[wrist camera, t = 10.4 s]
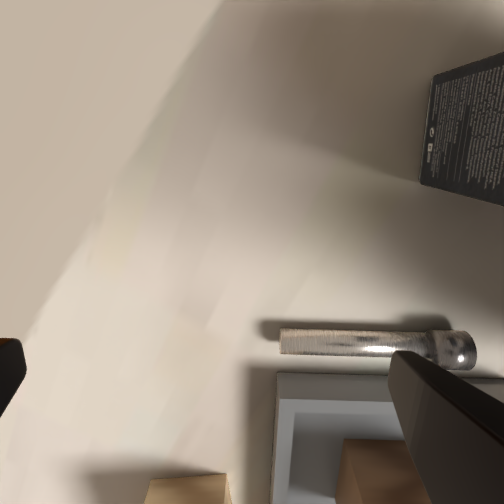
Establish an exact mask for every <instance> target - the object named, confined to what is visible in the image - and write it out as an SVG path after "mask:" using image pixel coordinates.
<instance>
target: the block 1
mask: <svg viewBox="0 0 504 504" xmlns="http://www.w3.org/2000/svg"><path fill="white" fill-rule="evenodd" d="M144 504H232V501H231V495H230V490H229V484H228V479H227V474H218V475H205V476H192V477H178V478H165V479H152V480H151V482H150V485H149V488H148V492H147V495H146V498H145V501H144Z"/></svg>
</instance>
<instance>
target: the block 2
mask: <svg viewBox="0 0 504 504" xmlns="http://www.w3.org/2000/svg"><path fill="white" fill-rule="evenodd" d="M335 502H336V504H431V501H430V499H429V497H428V495H427V492H426V490H425V488H424V485H423V483H422V481H421V479H420V476H419V474H418V472H417V469H416V467H415V465H414V463H413V460H412V458H411V455H410V453H409V450H408V447H407V445H406V442H405V441H402V440H371V439H344V441H343V448H342V454H341V461H340V467H339V474H338V481H337V487H336V494H335Z"/></svg>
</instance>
